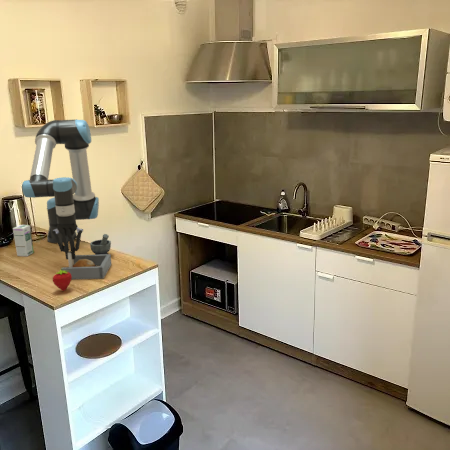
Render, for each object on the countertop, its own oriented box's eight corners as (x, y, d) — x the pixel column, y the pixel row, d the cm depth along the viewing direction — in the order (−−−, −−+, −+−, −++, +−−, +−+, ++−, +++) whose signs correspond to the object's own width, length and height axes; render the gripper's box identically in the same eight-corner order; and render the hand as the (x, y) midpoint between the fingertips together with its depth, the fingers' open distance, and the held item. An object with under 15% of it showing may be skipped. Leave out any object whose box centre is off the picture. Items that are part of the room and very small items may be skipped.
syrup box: (27, 256, 223) (23, 228, 219) (16, 256, 224) (12, 227, 220) (34, 252, 228) (30, 224, 224) (23, 252, 229) (19, 224, 225)
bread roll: (98, 278, 205) (100, 260, 206) (88, 277, 195) (90, 258, 196) (78, 277, 207) (80, 259, 208) (66, 275, 197) (69, 257, 198)
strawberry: (51, 291, 183) (48, 268, 180) (68, 285, 188) (66, 263, 185) (58, 295, 179) (55, 271, 176) (76, 289, 184) (73, 266, 181)
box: (73, 265, 211) (71, 255, 209) (111, 264, 211) (110, 254, 210) (62, 279, 194) (60, 268, 193) (103, 278, 195) (102, 267, 194)
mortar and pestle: (87, 256, 222) (85, 232, 219) (104, 251, 229) (102, 228, 226) (100, 261, 215) (98, 237, 212) (117, 256, 222) (115, 232, 218)
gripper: (47, 216, 191) (53, 269, 198) (78, 216, 192) (84, 268, 198) (53, 212, 199) (59, 263, 205) (83, 211, 199) (88, 262, 205)
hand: (71, 266), depth 202 cm, fingers closed
